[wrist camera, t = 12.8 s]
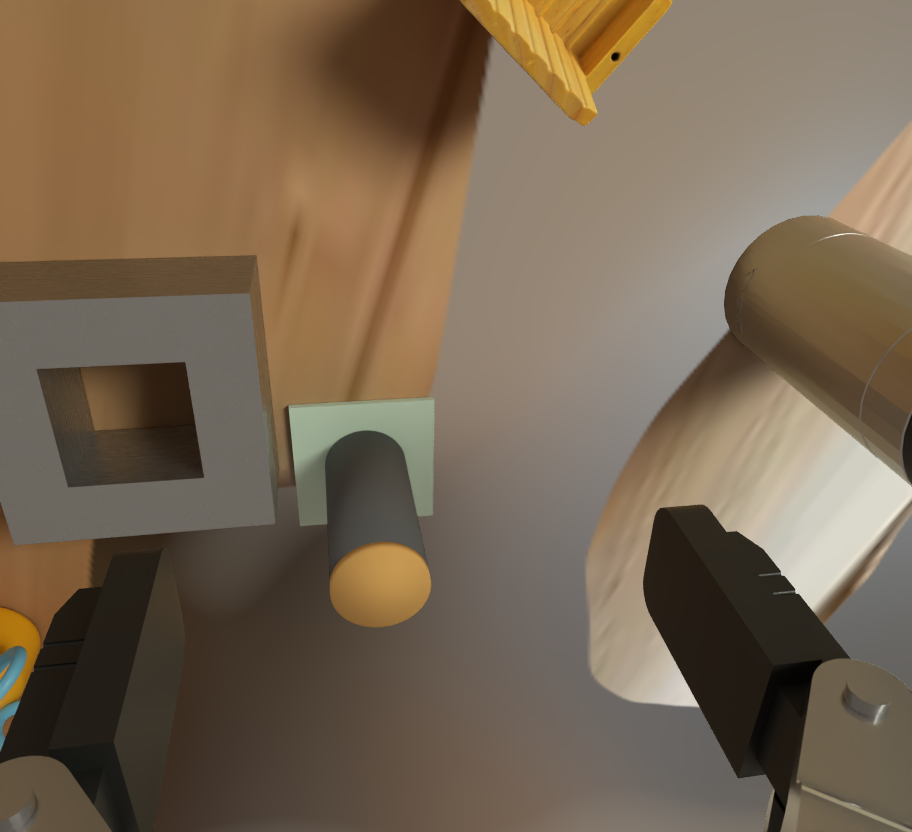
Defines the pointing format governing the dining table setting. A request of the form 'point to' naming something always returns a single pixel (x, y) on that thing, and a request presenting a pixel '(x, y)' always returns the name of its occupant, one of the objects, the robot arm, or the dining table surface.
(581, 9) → the yellow piece
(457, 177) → the dining table surface
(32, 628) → the yellow blue looped piece
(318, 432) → the mat
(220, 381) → the housing
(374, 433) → the plug
